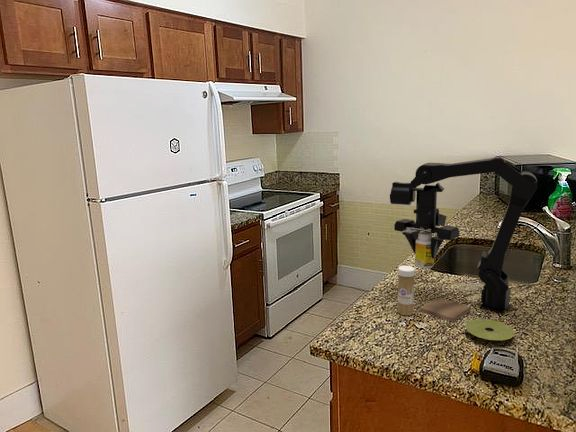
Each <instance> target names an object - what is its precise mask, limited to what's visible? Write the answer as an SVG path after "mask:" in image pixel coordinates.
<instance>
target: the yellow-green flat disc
mask: <svg viewBox="0 0 576 432" xmlns="http://www.w3.org/2000/svg"><path fill="white" fill-rule="evenodd" d="M464 328H465V330H466V331H467V332H468V333H470V334H471V335H473V336H475V337H477V338H480V339H484V340H489V341H506V340H510V339H512V338H513V337H515V335H516V334H515V330H514V329H513V328H512V327H511V326H510V325H507V324H506V323H504V322H501V321H497V320H493V319H484V318H478V319H471V320H469V321H467V322H466V323H465V325H464Z"/></svg>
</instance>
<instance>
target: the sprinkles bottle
mask: <svg viewBox="0 0 576 432" xmlns="http://www.w3.org/2000/svg"><path fill="white" fill-rule="evenodd" d="M397 275H398V281H397V282H398V284H397V310H396V311H397V313H398V314H399V315H402V316H412V315H413V314H414V302H415V301H414V297H415V276H416V268H414V266H410V265H401V266H398V269H397Z"/></svg>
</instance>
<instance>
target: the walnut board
mask: <svg viewBox="0 0 576 432" xmlns="http://www.w3.org/2000/svg"><path fill="white" fill-rule="evenodd" d="M471 308H472V307H471V306H469V305H465V304H462V303H458V302H455V301H453V300H452V301H451V300H448V299H445V298H442V297H437V298H435V299H433V300H432V301H429V302H428V303H425V304H424V305H422V306H420V308H419V311H420V312H422V313H425V314H428V315H431V316H435V317H437V318H439V319H442V320H445V321H449V322H451V323H454V322H455V321H457V320H458V319H460V318H462V317H463V316H465V315H466V314H467V313H469V312H470V311H471V310H472V309H471Z"/></svg>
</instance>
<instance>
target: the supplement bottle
mask: <svg viewBox="0 0 576 432" xmlns="http://www.w3.org/2000/svg"><path fill="white" fill-rule="evenodd" d="M431 238H433V233H429V232H423V231H420V233H419V236H418V239H416V247H415V254H414V256H415V257H414V258H415V259H414V265H415V266H416V267H418V268H420V269H421V268H422V269H431V268H433V267H434V265H435V258H434V259H432V255H431Z"/></svg>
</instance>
